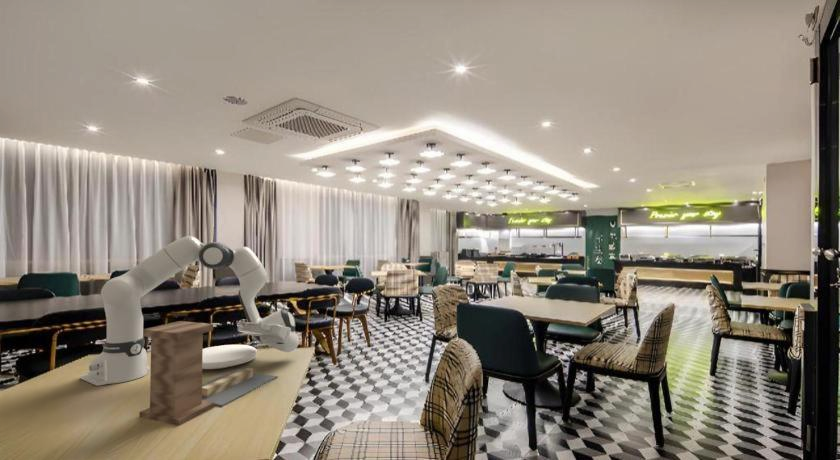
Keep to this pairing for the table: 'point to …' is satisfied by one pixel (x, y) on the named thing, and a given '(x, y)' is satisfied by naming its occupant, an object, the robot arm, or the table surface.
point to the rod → (226, 382)
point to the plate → (227, 356)
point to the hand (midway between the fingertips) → (249, 323)
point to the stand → (176, 372)
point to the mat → (238, 388)
